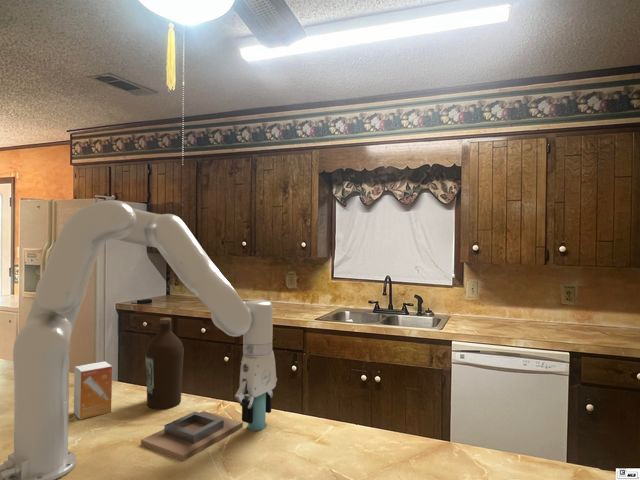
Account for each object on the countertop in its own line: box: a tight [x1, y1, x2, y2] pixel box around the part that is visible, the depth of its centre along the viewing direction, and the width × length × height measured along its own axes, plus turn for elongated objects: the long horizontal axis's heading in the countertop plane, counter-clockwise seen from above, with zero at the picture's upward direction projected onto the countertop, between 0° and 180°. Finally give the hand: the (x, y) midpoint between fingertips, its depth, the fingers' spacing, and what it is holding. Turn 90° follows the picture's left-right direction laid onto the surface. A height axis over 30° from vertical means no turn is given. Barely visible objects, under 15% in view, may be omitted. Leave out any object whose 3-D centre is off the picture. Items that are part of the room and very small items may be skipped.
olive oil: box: [144, 317, 185, 410], centre depth 126 cm, size 11×11×25 cm
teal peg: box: [247, 393, 267, 432], centre depth 112 cm, size 4×4×9 cm
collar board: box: [140, 410, 244, 462], centre depth 106 cm, size 20×14×3 cm
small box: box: [73, 361, 113, 420], centre depth 119 cm, size 8×6×13 cm
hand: (256, 416), depth 112 cm, fingers open, 6 cm apart
